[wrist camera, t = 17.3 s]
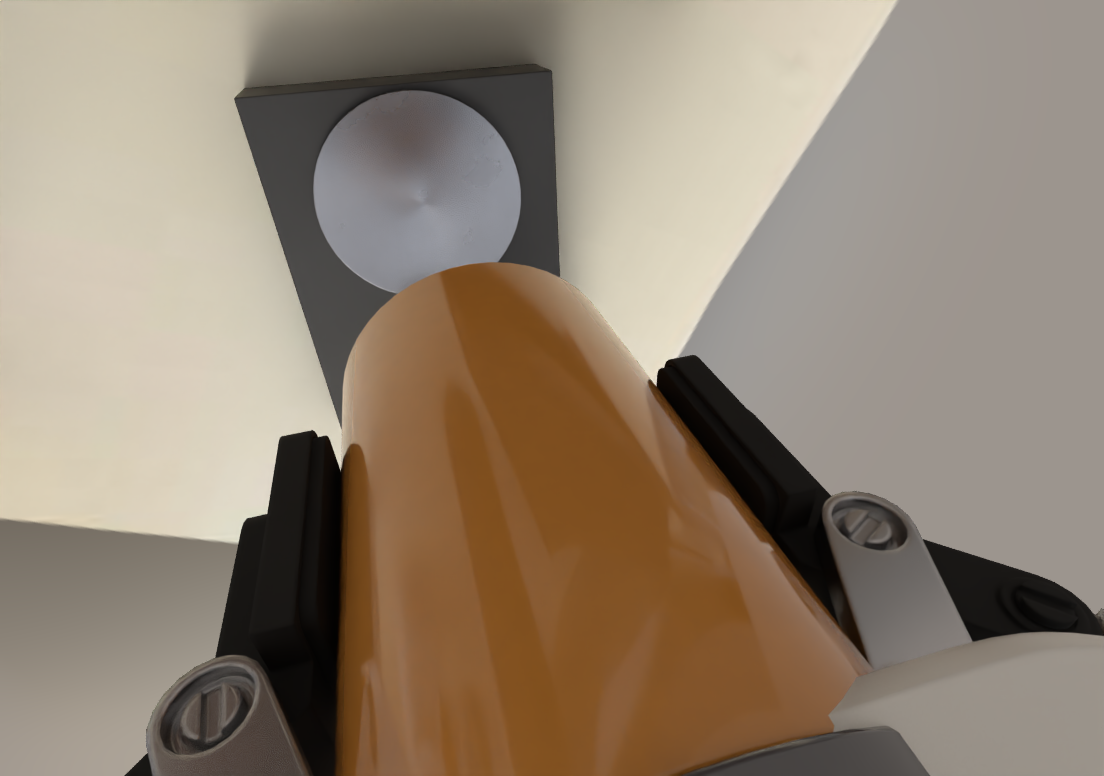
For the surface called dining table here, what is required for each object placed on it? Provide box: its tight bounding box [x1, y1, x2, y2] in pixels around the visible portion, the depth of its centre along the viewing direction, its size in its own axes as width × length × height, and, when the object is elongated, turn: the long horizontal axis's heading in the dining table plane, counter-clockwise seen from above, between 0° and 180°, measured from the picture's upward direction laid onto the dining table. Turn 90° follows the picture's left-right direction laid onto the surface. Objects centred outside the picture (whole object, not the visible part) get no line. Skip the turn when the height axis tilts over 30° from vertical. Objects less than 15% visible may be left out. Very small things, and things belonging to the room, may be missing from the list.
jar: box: [334, 262, 930, 776], centre depth 9 cm, size 7×7×11 cm
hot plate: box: [234, 64, 560, 429], centre depth 28 cm, size 18×12×3 cm
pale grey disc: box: [313, 89, 521, 294], centre depth 25 cm, size 9×9×1 cm
